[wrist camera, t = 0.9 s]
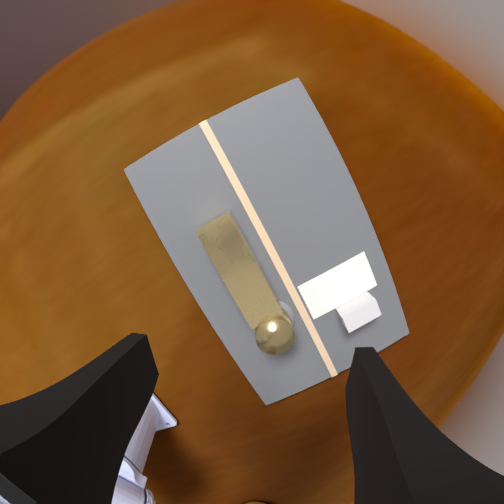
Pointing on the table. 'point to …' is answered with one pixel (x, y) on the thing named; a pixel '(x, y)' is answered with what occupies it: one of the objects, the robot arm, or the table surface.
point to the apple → (254, 502)
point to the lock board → (275, 235)
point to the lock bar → (247, 283)
